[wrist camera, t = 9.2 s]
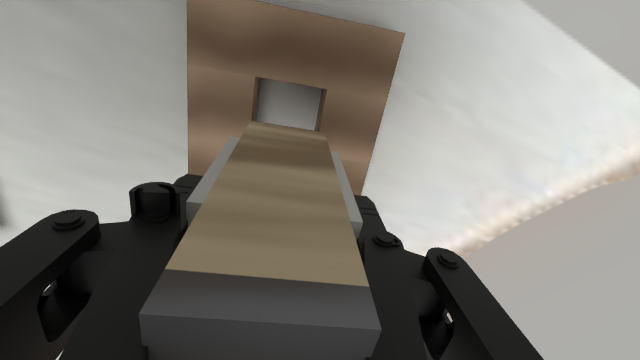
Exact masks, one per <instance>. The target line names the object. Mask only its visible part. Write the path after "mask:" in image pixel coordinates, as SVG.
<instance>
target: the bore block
mask: <svg viewBox="0 0 640 360" xmlns="http://www.w3.org/2000/svg"><path fill="white" fill-rule="evenodd" d="M404 36H405V33H402V32H397V31H393V30H388V29H383V28H379V27H374V26H369V25H365V24H360V23H356V22H351V21H346V20H342V19H337V18H332V17H328V16H323V15H319V14H314V13H309V12H305V11H300V10H295V9H291V8H286V7H282V6H277V5H272V4H268V3H263V2H258V1H254V0H187V87H188V174H193V175H201V176H204V175H205V173H206V172H207V170H208V169H209V167H210V166H211V165H212V163H213V162H214V160H215V159H216V157H217V156H218V154H219V153H220V151H221V150H222V148H223V147H224V145H225V144H226V143H227V141H228V140H229V138H230V137H231V136H234V137H241V136H242V134H243V132H244V131H245V129H246V127H247V125H248V124H249V122H250V121H255V122H256V118H257V107H258V96H259V85H260V77H261V78H267V79H272V80H278V81H283V82H289V83H295V84H300V85H306V86H311V87H317V88H322V93H321V98H320V104H319V109H318V115H317V120H316V126H315V131H318V132H324V133H325V135H326V138H327V142H328V145H329V148H330V151H333V152H338V153H339V156H340V159H341V161H342V164H343V167H344V170H345V173H346V175H347V178H348V181H349V184H350V187H351V190H352V192H353V195H360V196H361V192H362V188H363V185H364V181H365V177H366V174H367V170H368V167H369V163H370V159H371V156H372V152H373V148H374V145H375V141H376V137H377V134H378V130H379V127H380V123H381V119H382V116H383V112H384V108H385V105H386V101H387V97H388V94H389V90H390V86H391V83H392V79H393V76H394V72H395V68H396V65H397V61H398V57H399V54H400V50H401V46H402V43H403V39H404Z"/></svg>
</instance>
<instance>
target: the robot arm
mask: <svg viewBox="0 0 640 360" xmlns="http://www.w3.org/2000/svg"><path fill="white" fill-rule="evenodd" d="M240 138H241V137H234V136H231V137H230V138H229V140H228V141H227V143H226V144H225V145H224V147H223V148H222V150H221V151H220V153H219V154H218V156H217V157H216V159H215V160H214V162H213V163H212V165H211V166H210V167H209V169H208V170H207V172H206V173H205V175H204V176H201V175H193V174H187V175H184V176H182V177H180V178H178V179H177V180H176V182H175V183H174V184H170V183H164V182H150V183H145V184H141V185H138V186H136V187H134V188H132V189H131V190H130V191H129V196H130V206H131V215H132V216H131V218H130V220H129V221H126V222H118V223H104V224H99V219H98V215H96V214H95V213H94V212H91V211H87V210H66V211H62V212H59V213H55V214H52V215H50V216H48V217H46V218H44V219H42V220H40V221H39V222H37V223H36V224H34V225H33V226H31V227H30V228H28V229H27V230H25V231H24V232H22V233H21V234H19V235H18V236H16V237H15V238H13V239H12V240H10V241H9V242H7V243H6V244H4V245H3V246H1V247H0V360H56V358H57V357H58V356H59V354H60V353H61V352H62V351H63V352H62V354H61V356H60V358H59V360H149V352H148V346H142V339H141V330H140V321H139V313H140V311H141V309H142V307H143V306H144V304H145V302H146V300H147V299H148V297H149V295H150V293H151V292H152V290H153V288H154V287H155V285H156V283H157V281H158V280H159V278H160V276H161V274H162V273H163V271H164V269H165V267H166V266H167V264H168V262H169V261H170V259H171V257H172V255H173V254H174V252H175V250H176V248H177V247H178V245H179V243H180V241H181V240H182V238H183V236H184V235H185V233H186V231H187V229H188V228H189V226H190V224H191V222H192V221H193V219H194V217H195V216H196V214H197V212H198V210H199V209H200V207H201V205H202V203H203V202H204V200H205V198H206V196H207V195H208V193H209V191H210V190H211V188H212V186H213V184H214V183H215V181H216V179H217V177H218V176H219V174H220V172H221V170H222V169H223V167H224V165H225V164H226V162H227V160H228V158H229V157H230V155H231V153H232V151H233V150H234V148H235V146H236V144H237V143H238V141H239V139H240ZM330 152H331V155H332V159H333V162H334V166H335V169H336V173H337V176H338V180H339V183H340V187H341V190H342V194H343V197H344V201H345V204H346V207H347V211H348V214H349V218H350V221H351V225H352V228H353V232H354V235H355V239H356V242H357V246H358V249H359V253H360V256H361V260H362V263H363V266H364V270H365V273H366V277H367V280H368V284H369V287H370V291H371V294H372V298H373V301H374V305H375V308H376V312H377V315H378V319H379V322H380V325H381V329H382V331H381V333H380V336H379V338H378V341H377V343H376V346H375V348H374V351H373V353H372V356H371V357H366V358H365V360H544V359H543V358H542V357H541V356H540V354H539V353H538V352H537V351H536V349H535V348H534V347H533V346H532V344H531V343H530V342H529V340H528V339H527V338H526V337H525V336H524V334H523V333H522V332H521V331H520V329H519V328H518V327H517V325H516V324H515V323H514V322H513V320H512V319H511V318H510V317H509V315H508V314H507V313H506V312H505V310H504V309H503V308H502V307H501V306H500V304H499V303H498V302H497V300H496V299H495V298H494V297H493V295H492V294H491V293H490V292H489V290H488V289H487V288H486V287H485V286H484V284H483V283H482V282H481V280H480V279H479V278H478V277H477V275H476V274H475V273H474V272H473V270H472V269H471V268H470V267H469V265H468V264H467V263H466V262H465V261H464V260H463V259H462V258H461V257H460V256H458V255H457V254H455V253H454V252H452V251H449V250H447V249H443V248H431V249H429V250H428V252H427V254H426V257H425V256H421V255H418V254H415V253H412V252H409V251H407V250H404V247H403V244H402V242H401V240H400V239H398V238H397V237H396V236H395V235H393V234H391V233H390V232H387V231H386V229H385V226H384V224H383V222H382V220H381V218H380V216H379V213H378V211H377V209H376V207H375V205H374V203H373V202H372V201H371V200H370V199H369V198H368V197H367V196H360V195H353V192H352V190H351V187H350V184H349V181H348V178H347V175H346V173H345V170H344V167H343V164H342V161H341V159H340V156H339V153H338V152H333V151H330ZM49 285H50V287H49V288H48V289H47V290H45V289H46V288H47V287H48V286H49ZM44 290H45V291H44ZM447 313H449V314H450V316H451V318H452V320H453V321H452V323H451V322H450V320H449V318H448V317H447ZM63 349H64V350H63Z"/></svg>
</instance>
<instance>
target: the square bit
mask: <svg viewBox="0 0 640 360" xmlns="http://www.w3.org/2000/svg"><path fill="white" fill-rule="evenodd" d="M139 321H140V330H141V339H142V346H148V352H149V360H365V358H366V357H371V356H372V353H373V351H374V348H375V346H376V343H377V341H378V338H379V336H380V333H381V331H382V329H381V325H380V322H379V319H378V315H377V312H376V308H375V305H374V301H373V298H372V294H371V291H370V287H369V284H368V280H367V277H366V273H365V270H364V266H363V263H362V260H361V256H360V253H359V249H358V246H357V242H356V239H355V235H354V232H353V228H352V225H351V221H350V218H349V214H348V211H347V207H346V204H345V201H344V197H343V194H342V190H341V187H340V183H339V180H338V176H337V173H336V169H335V166H334V162H333V159H332V155H331V152H330V148H329V145H328V142H327V138H326V135H325V133H324V132H318V131H312V130H305V129H299V128H293V127H287V126H280V125H274V124H268V123H262V122H255V121H250V122H249V124H248V125H247V127H246V129H245V131H244V132H243V134H242V136H241V138H240V139H239V141H238V143H237V144H236V146H235V148H234V150H233V151H232V153H231V155H230V157H229V158H228V160H227V162H226V164H225V165H224V167H223V169H222V170H221V172H220V174H219V176H218V177H217V179H216V181H215V183H214V184H213V186H212V188H211V190H210V191H209V193H208V195H207V196H206V198H205V200H204V202H203V203H202V205H201V207H200V209H199V210H198V212H197V214H196V216H195V217H194V219H193V221H192V222H191V224H190V226H189V228H188V229H187V231H186V233H185V235H184V236H183V238H182V240H181V241H180V243H179V245H178V247H177V248H176V250H175V252H174V254H173V255H172V257H171V259H170V261H169V262H168V264H167V266H166V267H165V269H164V271H163V273H162V274H161V276H160V278H159V280H158V281H157V283H156V285H155V287H154V288H153V290H152V292H151V293H150V295H149V297H148V299H147V300H146V302H145V304H144V306H143V307H142V309H141V311H140V313H139Z"/></svg>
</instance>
